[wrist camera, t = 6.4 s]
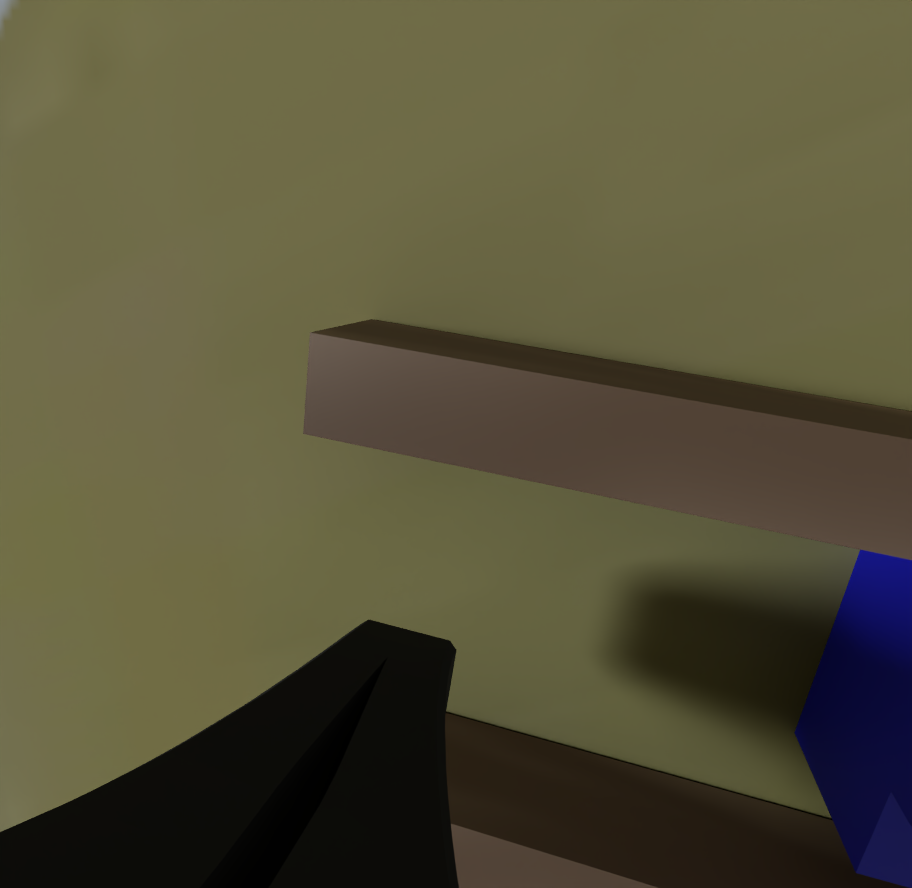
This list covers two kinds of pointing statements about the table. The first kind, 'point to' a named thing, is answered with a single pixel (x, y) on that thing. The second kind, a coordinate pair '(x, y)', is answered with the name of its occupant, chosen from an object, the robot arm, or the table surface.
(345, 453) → the table surface
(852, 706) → the cable clip
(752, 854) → the cable track
